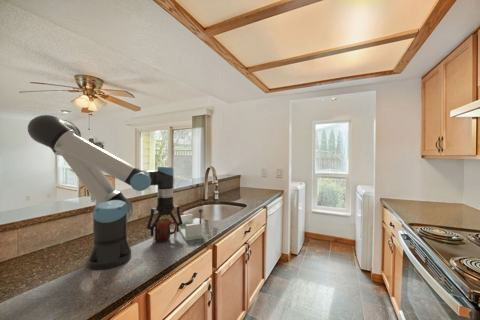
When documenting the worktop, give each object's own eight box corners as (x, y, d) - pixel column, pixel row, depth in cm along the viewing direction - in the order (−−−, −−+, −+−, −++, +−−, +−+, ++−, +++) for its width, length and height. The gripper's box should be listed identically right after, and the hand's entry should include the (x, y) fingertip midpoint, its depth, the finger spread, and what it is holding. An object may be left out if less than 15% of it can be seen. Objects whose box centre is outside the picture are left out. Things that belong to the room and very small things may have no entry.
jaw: (179, 225, 121) (179, 216, 121) (177, 221, 128) (177, 213, 128) (192, 223, 124) (192, 214, 124) (189, 220, 131) (189, 211, 131)
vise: (185, 240, 103) (185, 211, 103) (177, 227, 123) (177, 202, 122) (203, 237, 107) (203, 209, 107) (192, 225, 127) (193, 201, 127)
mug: (149, 243, 100) (149, 222, 100) (158, 236, 108) (158, 217, 108) (172, 244, 98) (173, 223, 98) (180, 237, 107) (180, 218, 107)
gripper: (141, 199, 95) (140, 247, 95) (189, 196, 105) (188, 239, 105) (141, 196, 101) (140, 241, 101) (185, 193, 111) (185, 234, 112)
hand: (164, 240), depth 103 cm, fingers closed on mug, 10 cm apart
